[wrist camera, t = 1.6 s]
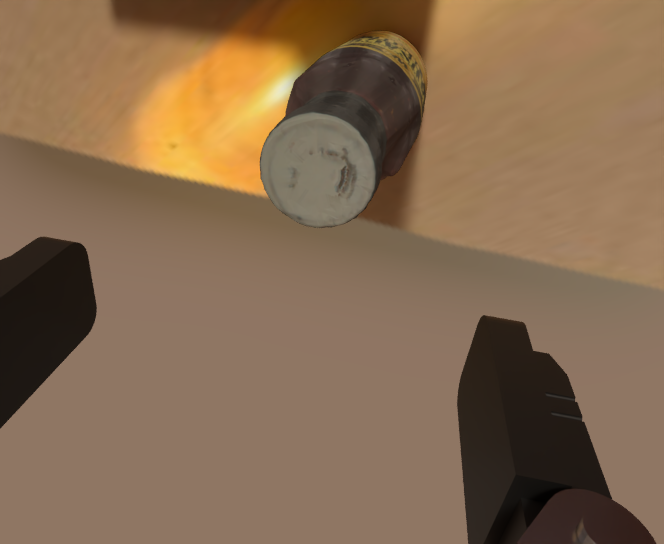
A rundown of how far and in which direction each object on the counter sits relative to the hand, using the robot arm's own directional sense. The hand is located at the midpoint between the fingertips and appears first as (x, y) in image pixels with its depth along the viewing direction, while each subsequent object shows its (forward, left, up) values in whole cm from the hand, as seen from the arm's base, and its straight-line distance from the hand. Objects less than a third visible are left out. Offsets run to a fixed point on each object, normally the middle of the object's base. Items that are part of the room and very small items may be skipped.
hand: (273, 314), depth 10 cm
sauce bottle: (0, 0, -28) cm, 28 cm away
